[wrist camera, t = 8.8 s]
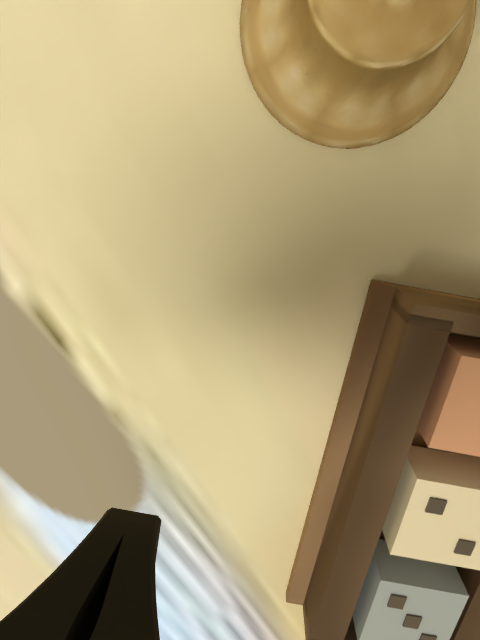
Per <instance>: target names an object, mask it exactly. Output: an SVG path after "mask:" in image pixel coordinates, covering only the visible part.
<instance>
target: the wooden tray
mask: <svg viewBox="0 0 480 640" xmlns="http://www.w3.org/2000/svg"><path fill="white" fill-rule="evenodd" d="M449 334H451V335H456V336H462V337H467V338H473V339H478V340H480V299H475V298H469V297H464V296H458V295H453V294H447V293H442V292H436V291H430V290H425V289H419V288H414V287H408V286H403V285H397V284H392V283H386V282H381V281H375V280H371V283H370V287H369V291H368V294H367V298H366V302H365V305H364V309H363V313H362V316H361V320H360V324H359V327H358V331H357V335H356V338H355V342H354V346H353V349H352V353H351V357H350V360H349V364H348V367H347V371H346V375H345V378H344V382H343V386H342V389H341V393H340V397H339V400H338V404H337V408H336V411H335V415H334V419H333V422H332V426H331V430H330V433H329V437H328V441H327V444H326V448H325V452H324V455H323V459H322V463H321V466H320V470H319V474H318V477H317V481H316V485H315V488H314V492H313V495H312V499H311V503H310V506H309V510H308V514H307V517H306V521H305V525H304V528H303V532H302V536H301V539H300V543H299V547H298V550H297V554H296V558H295V561H294V565H293V569H292V572H291V576H290V580H289V583H288V587H287V591H286V602H288V603H293V604H299V605H303V613H304V625H305V637H306V640H357V636H356V631H355V626H354V621H353V612H354V610H355V607H356V604H357V601H358V598H359V595H360V592H361V589H362V586H363V583H364V581H365V578H366V575H367V572H368V569H369V566H370V563H371V560H372V557H373V554H374V552H375V549H376V546H377V543H378V540H379V539H383V540H385V537H384V534H383V531H382V528H383V525H384V523H385V520H386V517H387V514H388V511H389V508H390V505H391V502H392V499H393V496H394V494H395V491H396V488H397V485H398V482H399V479H400V476H401V473H402V470H403V467H404V465H405V462H406V459H407V456H408V453H409V450H410V447H411V445H412V446H418V447H424V448H428V446H427V444H426V442H425V441H424V439H423V437H422V435H421V434H420V432H419V430H418V429H417V427H418V424H419V421H420V418H421V415H422V412H423V409H424V407H425V404H426V401H427V398H428V395H429V392H430V389H431V386H432V383H433V380H434V378H435V375H436V372H437V369H438V366H439V363H440V360H441V357H442V354H443V351H444V349H445V346H446V343H447V340H448V337H449ZM429 449H433V448H429ZM435 450H439V449H435ZM440 451H444V450H440ZM446 452H450V451H446ZM451 453H456V452H451ZM457 454H461V453H457ZM463 455H467V454H463ZM468 456H472V455H468ZM474 457H478V456H474ZM479 458H480V457H479ZM455 567H456V569H457V571H458V573H459V575H460V577H461V580H462V582H463V584H464V586H465V588H466V590H467V592H468V594H469V598H468V600H467V602H466V604H465V607H464V609H463V611H462V613H461V616H460V618H459V620H458V622H457V624H456V627H455V629H454V631H453V633H452V635H451V638H450V640H480V570H475V569H469V568H463V567H458V566H455Z"/></svg>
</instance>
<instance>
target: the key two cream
mask: <svg viewBox="0 0 480 640" xmlns="http://www.w3.org/2000/svg"><path fill="white" fill-rule="evenodd" d="M382 531H383V534H384V537H385V540H386V543H387V546H388V550H389V553H390V555H396V556H402V557H407V558H413V559H418V560H424V561H430V562H435V563H441V564H447V565H452V566H458V567H463V568H469V569H475V570H480V458H479V457H474V456H468V455H463V454H457V453H451V452H446V451H440V450H435V449H429V448H424V447H418V446H412V445H411V447H410V450H409V453H408V456H407V459H406V462H405V465H404V467H403V470H402V473H401V476H400V479H399V482H398V485H397V488H396V491H395V494H394V496H393V499H392V502H391V505H390V508H389V511H388V514H387V517H386V520H385V523H384V525H383V528H382Z"/></svg>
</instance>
